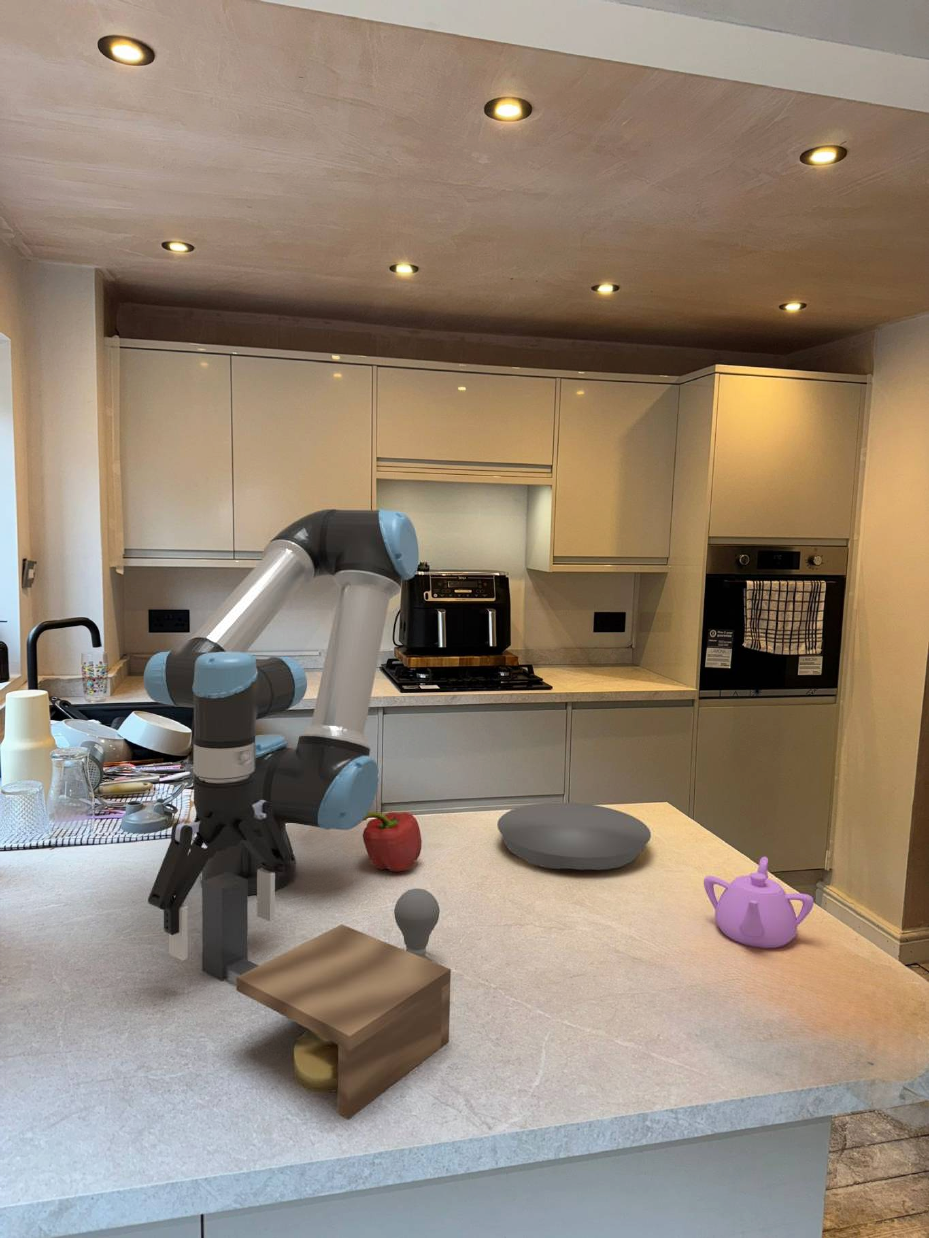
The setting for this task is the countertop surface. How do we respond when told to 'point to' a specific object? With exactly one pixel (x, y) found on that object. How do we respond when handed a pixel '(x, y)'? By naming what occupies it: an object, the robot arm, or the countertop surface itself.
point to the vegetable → (392, 840)
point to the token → (316, 1062)
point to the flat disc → (573, 835)
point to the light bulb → (416, 919)
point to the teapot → (757, 909)
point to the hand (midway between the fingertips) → (224, 936)
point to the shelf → (359, 1006)
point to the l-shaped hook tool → (225, 927)
